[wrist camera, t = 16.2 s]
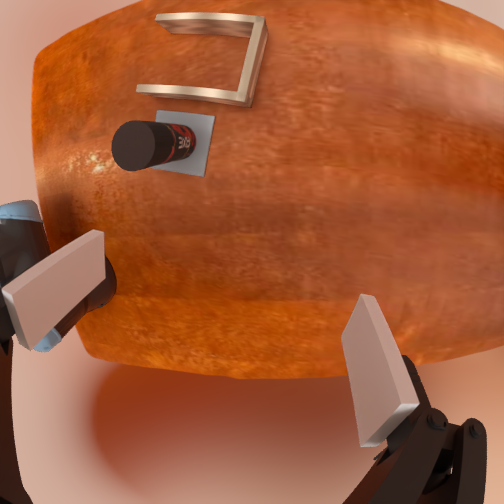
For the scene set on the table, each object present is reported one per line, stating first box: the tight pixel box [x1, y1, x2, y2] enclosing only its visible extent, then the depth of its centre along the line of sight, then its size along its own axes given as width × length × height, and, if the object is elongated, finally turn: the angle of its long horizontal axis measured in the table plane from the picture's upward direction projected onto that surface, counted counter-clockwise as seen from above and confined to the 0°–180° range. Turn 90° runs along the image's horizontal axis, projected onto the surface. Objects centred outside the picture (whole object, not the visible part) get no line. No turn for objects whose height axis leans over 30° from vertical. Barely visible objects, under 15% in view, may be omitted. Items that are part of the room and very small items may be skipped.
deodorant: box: [112, 121, 196, 171], centre depth 34 cm, size 6×6×15 cm
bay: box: [136, 13, 268, 108], centre depth 33 cm, size 16×13×7 cm
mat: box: [149, 110, 216, 177], centre depth 42 cm, size 10×10×1 cm
